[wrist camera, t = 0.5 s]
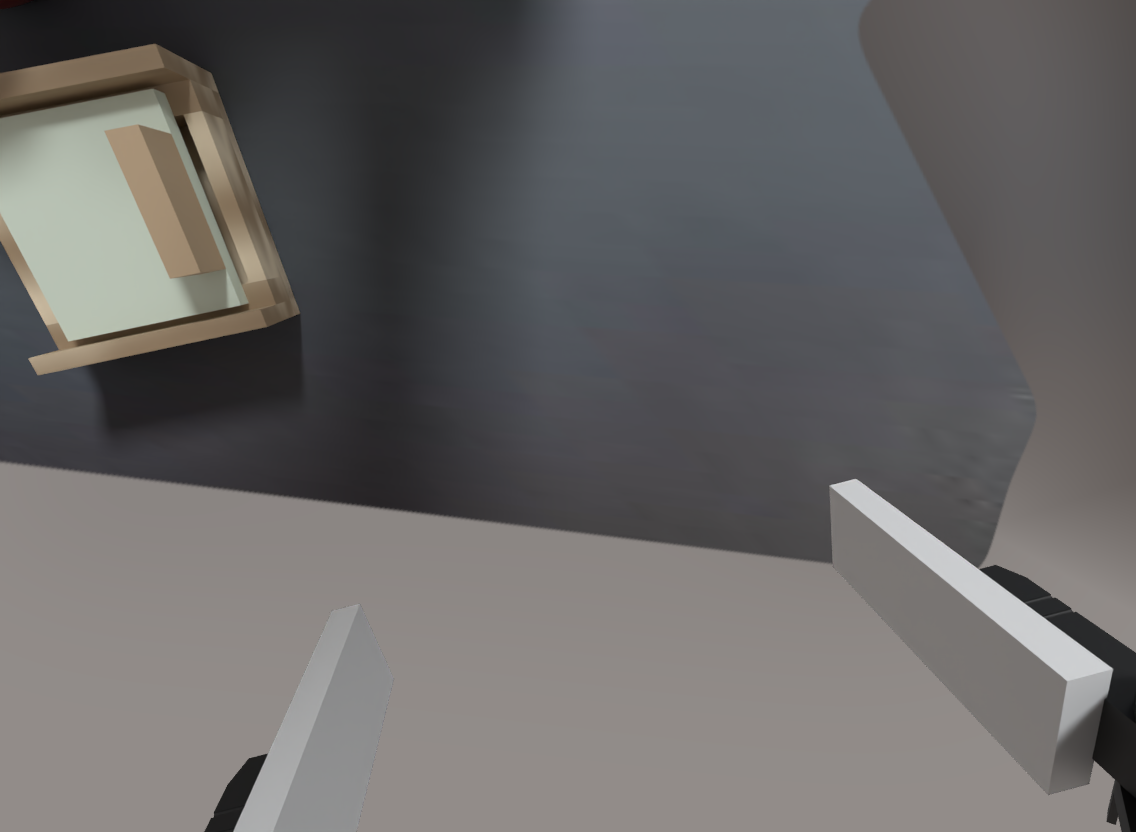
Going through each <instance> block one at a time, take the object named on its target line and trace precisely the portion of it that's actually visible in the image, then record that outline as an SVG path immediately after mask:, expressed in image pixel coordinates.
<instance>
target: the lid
mask: <svg viewBox="0 0 1136 832" xmlns="http://www.w3.org/2000/svg"><path fill="white" fill-rule="evenodd" d="M0 214H1V216H2V217H3V219H4V221H5V223H6V225H7V227H8V229H9V231H10V233H11V234H12V236H13V238H14V240H15V242H16V244H17V246H18V248H19V249H20V251H21V253H22V255H23V257H24V259H25V261H26V263H27V265H28V266H29V268H30V270H31V272H32V274H33V276H34V278H35V280H36V282H37V283H38V285H39V287H40V289H41V291H42V293H43V295H44V297H45V298H46V300H47V302H48V304H49V306H50V308H51V310H52V312H53V314H54V315H55V317H56V319H57V321H58V323H59V325H60V327H61V329H62V330H63V332H64V334H65V336H66V338H67V340H68V342H69V341H73V340H78V339H83V338H88V337H92V336H97V335H102V334H107V333H111V332H116V331H121V330H126V329H131V328H135V327H140V326H145V325H150V324H154V323H159V322H164V321H169V320H173V319H178V318H183V317H188V316H193V315H197V314H202V313H207V312H212V311H216V310H221V309H226V308H231V307H235V306H240V305H244V304H247V303H249V302H248V300H247V297H246V295H245V292H244V290H243V287H242V285H241V282H240V280H239V277H238V275H237V272H236V270H235V267H234V265H233V262H232V260H231V257H230V255H229V252H228V250H227V247H226V245H225V242H224V240H223V237H222V235H221V232H220V230H219V227H218V225H217V222H216V220H215V217H214V215H213V212H212V210H211V207H210V205H209V202H208V200H207V198H206V195H205V193H204V190H203V188H202V185H201V183H200V180H199V178H198V175H197V173H196V170H195V168H194V165H193V163H192V160H191V158H190V155H189V153H188V150H187V148H186V145H185V143H184V140H183V138H182V135H181V133H180V130H179V128H178V125H177V123H176V120H175V118H174V115H173V113H172V110H171V108H170V105H169V103H168V100H167V98H166V95H165V93H163V92H160V91H158V90H155V89H148V90H143V91H138V92H133V93H128V94H123V95H118V96H112V97H107V98H102V99H97V100H92V101H87V102H81V103H76V104H71V105H66V106H61V107H56V108H51V109H45V110H40V111H35V112H30V113H25V114H20V115H15V116H9V117H4V118H0Z"/></svg>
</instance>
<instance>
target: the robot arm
mask: <svg viewBox="0 0 1136 832" xmlns="http://www.w3.org/2000/svg"><path fill="white" fill-rule="evenodd" d="M830 510H831V533H832V557H833V567H834V568H835V569H836V570H837V571H838V573H839V574H840V575H841V576H842V577H843V578H844V579H845V580H846V581H847V582H848V583H849V584H850V585H851V586H852V588H854V590H855V591H856V592H857V593H858V594H859V595H860V596H861V597H862V598H863V599H864V600H865V601H866V602H867V603H868V604H869V606H870V607H871V608H872V609H873V610H874V611H875V612H876V613H877V614H878V615H879V616H880V617H881V618H882V619H883V620H884V622H885V623H886V624H887V625H888V626H889V627H890V628H891V629H892V630H893V631H894V632H895V633H896V634H897V635H898V636H899V637H900V639H902V640H903V642H904V643H905V644H906V645H907V646H908V647H909V648H910V649H911V650H912V651H913V652H914V653H915V654H916V656H917V657H919V659H920V660H921V661H922V662H923V663H924V664H925V665H926V666H927V667H928V668H929V669H930V670H931V671H932V672H933V673H934V674H935V676H936V677H937V678H938V679H939V680H940V681H941V682H942V683H943V684H944V685H945V686H946V687H947V688H948V689H949V691H951V693H952V694H953V695H954V696H955V697H956V698H957V699H958V700H959V701H960V702H961V703H962V704H963V705H964V706H965V708H967V710H969V712H970V713H971V714H972V715H973V716H974V717H975V718H976V719H977V720H978V721H979V722H980V723H981V724H982V726H983V727H984V728H985V729H986V730H987V731H988V732H989V733H990V734H991V735H992V736H993V737H994V738H995V739H996V740H997V741H998V743H999V744H1001V746H1002V747H1003V748H1004V749H1005V750H1006V751H1007V752H1008V753H1009V754H1010V755H1011V756H1012V757H1013V758H1014V760H1015V761H1016V762H1018V764H1019V765H1020V766H1021V767H1022V768H1023V769H1024V770H1025V771H1026V772H1027V773H1028V774H1029V775H1030V776H1031V778H1032V779H1033V780H1034V781H1035V782H1036V783H1037V784H1038V785H1039V786H1040V787H1041V788H1042V789H1043V790H1044V791H1045V792H1046V793H1047V794H1048V795H1050V794H1054V793H1058V792H1061V791H1065V790H1068V789H1072V788H1076V787H1079V786H1083V785H1087V784H1089V781H1090V777H1091V772H1092V768H1093V763H1094V761H1095V762H1097V763H1098V764H1099V765H1100V766H1101V767H1102V768H1103V769H1104V770H1105V771H1106V772H1107V773H1109V774H1110V775H1111V776H1112V777H1113V778H1114V779H1115V782H1114V786H1113V790H1112V795H1111V799H1110V803H1109V808H1108V815H1107V822H1109V823H1112V824H1115V825H1116V821H1117V818H1118V817H1119V821H1120V826H1121V830H1122V832H1136V653H1135V652H1134V651H1132V650H1131V649H1130V648H1128V647H1127V646H1125V645H1124V644H1122V643H1121V642H1119V641H1118V640H1116V639H1115V638H1114V637H1112V636H1111V635H1109V634H1108V633H1106V632H1105V631H1103V630H1102V629H1100V628H1099V627H1098V626H1096V625H1095V624H1093V623H1092V622H1090V621H1089V620H1087V619H1086V618H1084V617H1083V616H1082V615H1080V614H1078V613H1077V612H1073V611H1072V610H1071V608H1070V607H1068V606H1067V605H1065V604H1064V603H1062V602H1061V601H1060V600H1058V599H1057V598H1052V597H1051V594H1050V593H1048V592H1047V591H1045V590H1044V589H1042V588H1041V587H1039V586H1038V585H1036V584H1035V583H1034V582H1032V581H1031V580H1029V579H1028V578H1026V577H1024V576H1022V575H1019V574H1017V573H1014V572H1012V571H1009V570H1007V569H1004V568H1002V567H999V566H997V565H994V566H990V567H986V568H982V569H977V568H976V567H975V566H973V565H972V564H971V563H969V562H968V561H966V560H965V559H964V558H962V557H961V556H960V555H958V554H957V553H956V552H954V551H953V550H952V549H950V548H949V547H948V546H946V545H945V544H943V543H942V542H941V541H939V540H938V539H937V538H935V537H934V536H933V535H931V534H930V533H929V532H927V531H926V530H925V529H923V528H922V527H921V526H919V525H918V524H916V523H915V522H914V521H912V520H911V519H910V518H908V517H907V516H906V515H904V514H903V513H902V512H900V511H899V510H898V509H896V508H895V507H893V506H892V505H891V504H889V503H888V502H887V501H885V500H884V499H883V498H881V497H880V496H879V495H877V494H876V493H875V492H873V491H872V490H870V489H869V488H868V487H866V486H865V485H864V484H862V483H861V482H860V481H858V480H857V479H854V480H850V481H846V482H842V483H838V484H834V485H830ZM393 681H394V678H393V676H392V673H391V671H390V669H389V667H388V664H387V662H386V660H385V658H384V656H383V653H382V651H381V649H380V647H379V645H378V642H377V640H376V638H375V636H374V633H373V631H372V629H371V627H370V625H369V622H368V620H367V618H366V616H365V613H364V611H363V609H362V607H361V605H360V604H356V605H352V606H348V607H344V608H340V609H336V610H332V612H331V614H330V616H329V618H328V621H327V623H326V625H325V627H324V630H323V632H322V634H321V636H320V639H319V641H318V643H317V645H316V647H315V650H314V652H313V654H312V656H311V659H310V661H309V663H308V665H307V668H306V670H305V672H304V674H303V677H302V679H301V681H300V684H299V686H298V688H297V690H296V692H295V695H294V697H293V699H292V702H291V703H290V706H289V708H288V710H287V712H286V715H285V717H284V719H283V721H282V724H281V726H280V728H279V730H278V733H277V735H276V737H275V739H274V742H273V744H272V746H271V748H270V751H269V753H268V754H265V755H261V756H257V757H253V758H249V759H248V760H247V761H246V763H245V764H244V765H243V766H242V768H241V769H240V770H239V771H238V773H237V774H236V775H235V776H234V778H233V779H232V780H231V781H230V783H229V784H228V785H227V787H226V789H225V791H224V793H223V795H222V797H221V799H220V801H219V803H218V805H217V807H216V809H215V811H214V818H211V820H210V822H209V824H208V826H207V828H206V830H205V832H357V828H358V824H359V820H360V816H361V811H362V807H363V803H364V799H365V795H366V791H367V787H368V783H369V779H370V775H371V770H372V767H373V762H374V758H375V754H376V750H377V746H378V742H379V738H380V733H381V729H382V726H383V722H384V718H385V713H386V709H387V705H388V701H389V697H390V693H391V689H392V685H393Z"/></svg>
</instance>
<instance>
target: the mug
mask: <svg viewBox="0 0 1136 832" xmlns="http://www.w3.org/2000/svg"><path fill="white" fill-rule="evenodd" d="M31 1H33V0H0V9H7V8H12V7H16V6H20V5H23V4H25V3H28V2H31Z"/></svg>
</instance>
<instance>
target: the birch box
mask: <svg viewBox="0 0 1136 832" xmlns="http://www.w3.org/2000/svg"><path fill="white" fill-rule="evenodd" d="M148 89H155V90H158V91H160V92H163V93H165V95H166V98H167V100H168V103H169V105H170V108H171V110H172V113H173V115H174V118H175V120H176V123H177V125H178V128H179V130H180V133H181V135H182V138H183V140H184V143H185V145H186V148H187V150H188V153H189V155H190V158H191V160H192V163H193V165H194V168H195V170H196V173H197V175H198V178H199V180H200V183H201V185H202V188H203V190H204V193H205V195H206V198H207V200H208V202H209V205H210V207H211V210H212V212H213V215H214V217H215V220H216V222H217V225H218V227H219V230H220V232H221V235H222V237H223V240H224V242H225V245H226V247H227V250H228V252H229V255H230V257H231V260H232V262H233V265H234V267H235V270H236V272H237V275H238V277H239V280H240V282H241V285H242V287H243V290H244V292H245V295H246V297H247V300H248V302H249V303H247V304H244V305H240V306H235V307H231V308H226V309H221V310H216V311H212V312H207V313H202V314H197V315H193V316H188V317H183V318H178V319H173V320H169V321H164V322H159V323H154V324H150V325H145V326H140V327H135V328H131V329H126V330H121V331H116V332H111V333H107V334H102V335H97V336H92V337H88V338H83V339H78V340H73V341H69V342H68V340H67V338H66V336H65V334H64V332H63V330H62V329H61V327H60V325H59V323H58V321H57V319H56V317H55V315H54V314H53V312H52V310H51V308H50V306H49V304H48V302H47V300H46V298H45V297H44V295H43V293H42V291H41V289H40V287H39V285H38V283H37V282H36V280H35V278H34V276H33V274H32V272H31V270H30V268H29V266H28V265H27V263H26V261H25V259H24V257H23V255H22V253H21V251H20V249H19V248H18V246H17V244H16V242H15V240H14V238H13V236H12V234H11V233H10V231H9V229H8V227H7V225H6V223H5V221H4V219H3V217H2V216H1V214H0V241H1V243H2V245H3V246H4V248H5V250H6V252H7V254H8V256H9V258H10V259H11V261H12V263H13V265H14V267H15V269H16V271H17V272H18V274H19V276H20V278H21V280H22V282H23V283H24V285H25V287H26V289H27V291H28V293H29V295H30V296H31V298H32V300H33V302H34V304H35V306H36V308H37V309H38V311H39V313H40V315H41V317H42V319H43V321H44V322H45V324H46V326H47V328H48V330H49V332H50V333H51V335H52V337H53V339H54V341H55V343H56V345H57V346H58V348H59V350H58V351H54V352H50V353H46V354H43V355H39V356H35V357H32V358H28V359H29V361H30V362H31V364H32V366H33V368H34V369H35V371H36V373H37V375H42V374H47V373H51V372H56V371H61V370H65V369H70V368H75V367H80V366H84V365H89V364H94V363H99V362H103V361H108V360H113V359H117V358H122V357H127V356H132V355H136V354H141V353H146V352H151V351H155V350H160V349H165V348H169V347H174V346H179V345H184V344H188V343H193V342H198V341H203V340H207V339H212V338H217V337H222V336H226V335H231V334H236V333H240V332H245V331H250V330H255V329H259V328H264V327H268V326H270V325H273V324H275V323H278V322H280V321H283V320H285V319H288V318H290V317H293V316H295V315H298V314H300V311H299V309H298V306H297V303H296V301H295V298H294V295H293V293H292V290H291V287H290V284H289V282H288V279H287V276H286V274H285V271H284V268H283V265H282V263H281V260H280V257H279V255H278V252H277V249H276V247H275V244H274V241H273V238H272V236H271V233H270V230H269V228H268V225H267V222H266V219H265V217H264V214H263V211H262V209H261V206H260V203H259V201H258V198H257V195H256V192H255V190H254V187H253V184H252V182H251V179H250V176H249V173H248V171H247V168H246V165H245V163H244V160H243V157H242V155H241V152H240V149H239V146H238V144H237V141H236V138H235V136H234V133H233V130H232V127H231V125H230V122H229V119H228V117H227V114H226V111H225V109H224V106H223V103H222V100H221V98H220V95H219V92H218V90H217V87H216V84H215V81H214V79H213V76H212V73H210V72H208V71H206V70H204V69H202V68H201V67H199V66H197V65H195V64H193V63H191V62H189V61H187V60H185V59H183V58H182V57H180V56H178V55H176V54H174V53H172V52H170V51H168V50H166V49H165V48H163V47H161V46H159V45H157V44H151V45H145V46H140V47H135V48H130V49H124V50H119V51H114V52H109V53H104V54H98V55H93V56H88V57H83V58H77V59H72V60H67V61H62V62H57V63H51V64H46V65H41V66H36V67H30V68H25V69H20V70H15V71H9V72H4V73H0V118H4V117H9V116H15V115H20V114H25V113H30V112H35V111H40V110H45V109H51V108H56V107H61V106H66V105H71V104H76V103H81V102H87V101H92V100H97V99H102V98H107V97H112V96H118V95H123V94H128V93H133V92H138V91H143V90H148Z"/></svg>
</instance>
